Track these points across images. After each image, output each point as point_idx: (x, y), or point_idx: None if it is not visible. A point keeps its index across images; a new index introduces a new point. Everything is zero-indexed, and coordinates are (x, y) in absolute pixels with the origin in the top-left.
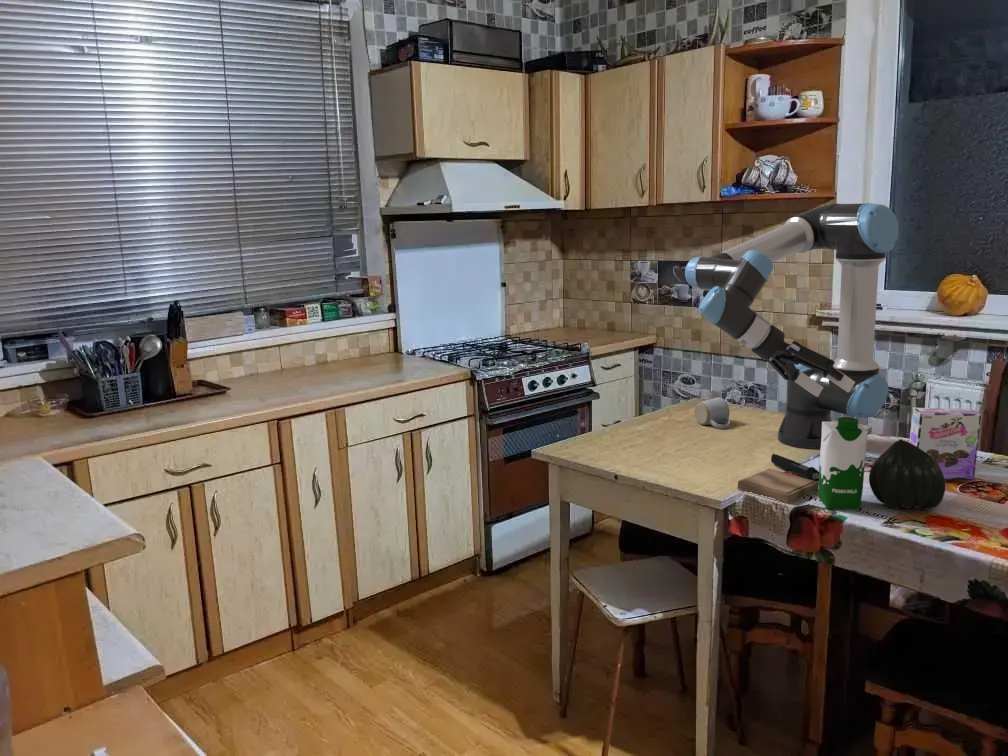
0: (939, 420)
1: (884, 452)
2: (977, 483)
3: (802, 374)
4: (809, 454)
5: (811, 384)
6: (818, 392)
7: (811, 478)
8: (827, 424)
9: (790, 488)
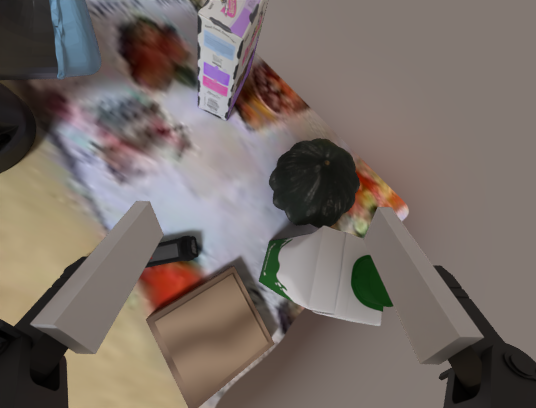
0: (252, 30)
1: (316, 195)
2: (259, 78)
3: (72, 314)
4: (57, 178)
5: (129, 255)
6: (156, 228)
7: (196, 256)
8: (339, 310)
9: (253, 328)
